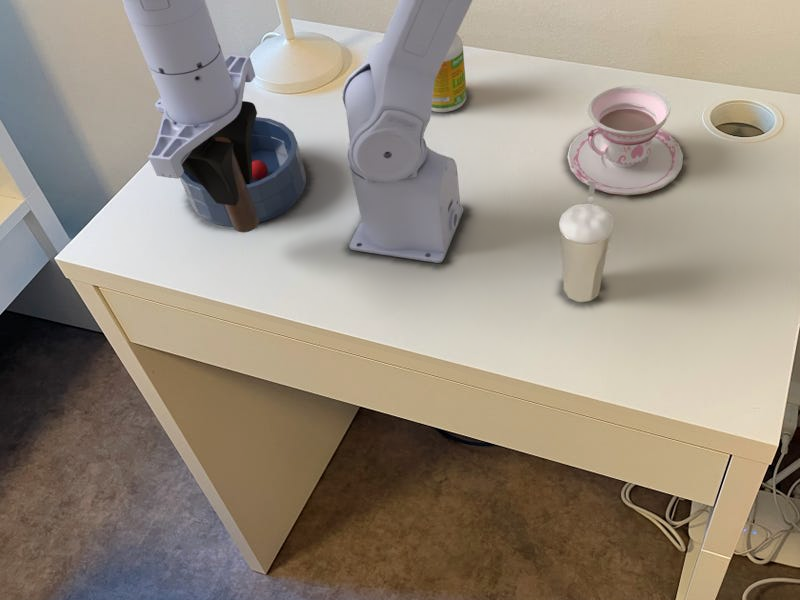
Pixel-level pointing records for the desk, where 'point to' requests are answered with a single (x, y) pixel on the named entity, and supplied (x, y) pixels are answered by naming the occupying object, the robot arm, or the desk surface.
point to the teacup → (626, 143)
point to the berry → (259, 170)
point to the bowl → (268, 193)
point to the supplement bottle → (450, 80)
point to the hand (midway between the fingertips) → (234, 191)
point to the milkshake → (584, 247)
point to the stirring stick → (241, 200)
